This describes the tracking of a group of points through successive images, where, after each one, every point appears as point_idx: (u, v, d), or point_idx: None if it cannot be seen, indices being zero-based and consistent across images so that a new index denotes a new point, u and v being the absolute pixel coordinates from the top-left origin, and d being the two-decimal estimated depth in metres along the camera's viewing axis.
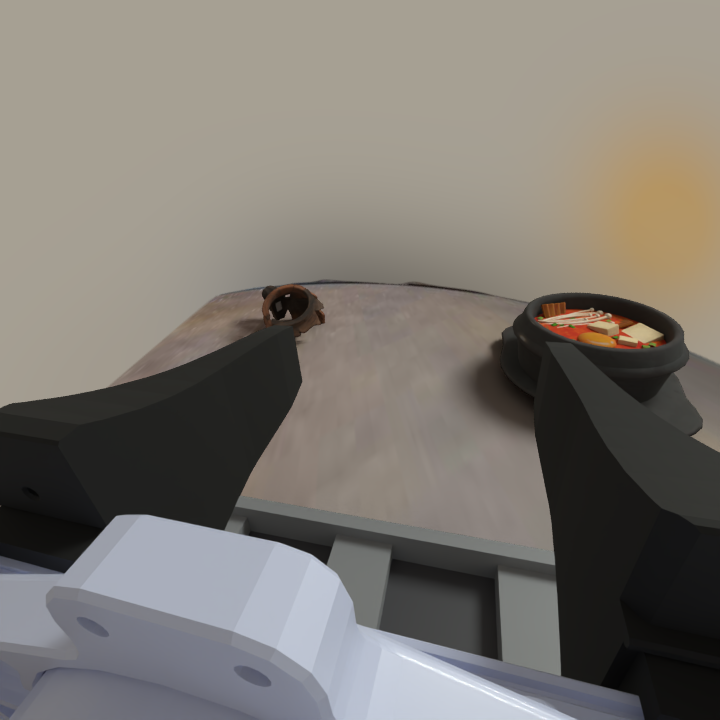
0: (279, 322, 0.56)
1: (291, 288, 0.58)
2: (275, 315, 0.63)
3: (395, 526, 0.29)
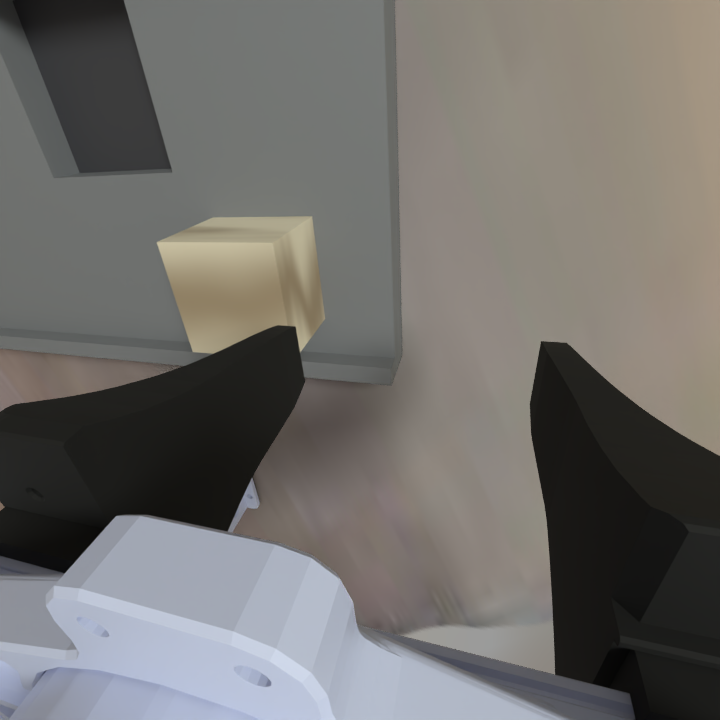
0: None
1: None
2: None
3: None
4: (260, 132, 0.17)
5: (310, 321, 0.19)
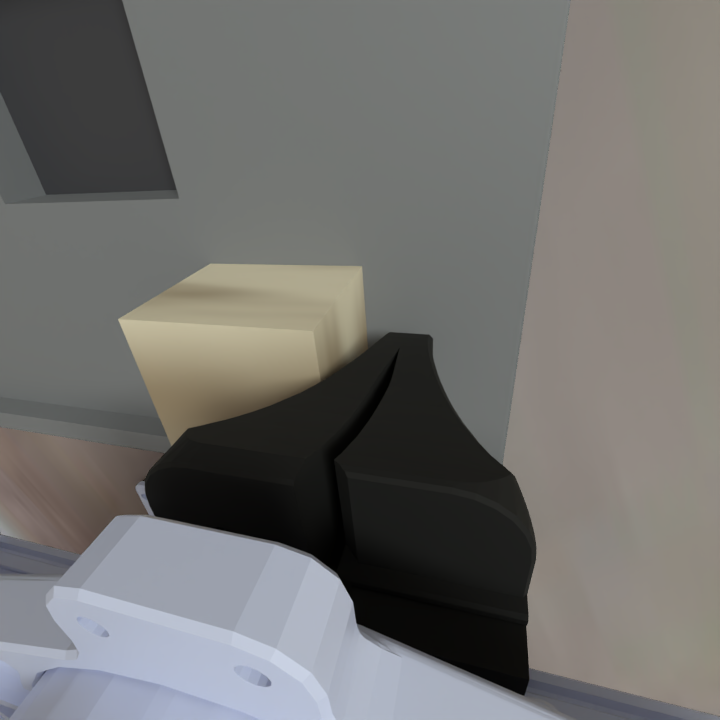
0: None
1: None
2: None
3: None
4: (323, 137, 0.10)
5: None
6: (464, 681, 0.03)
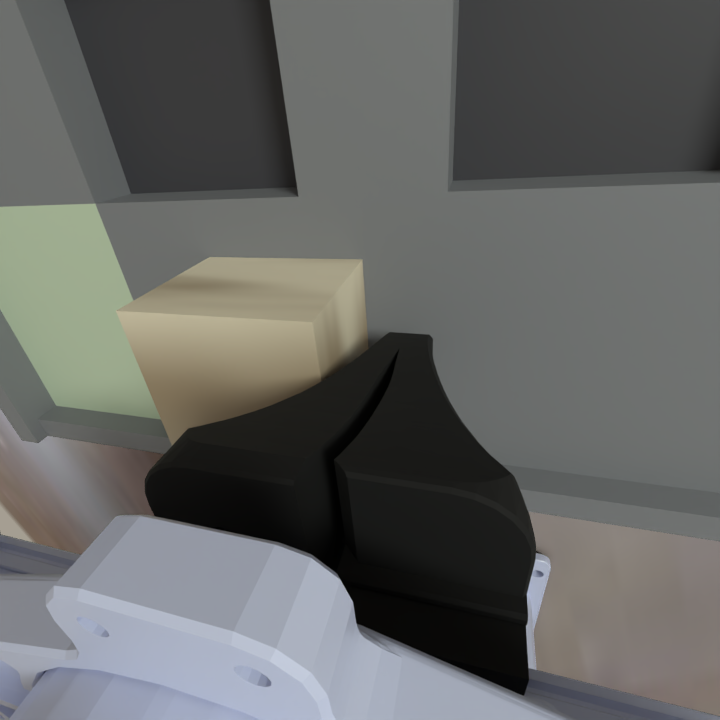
0: None
1: None
2: None
3: None
4: None
5: None
6: (464, 681, 0.03)
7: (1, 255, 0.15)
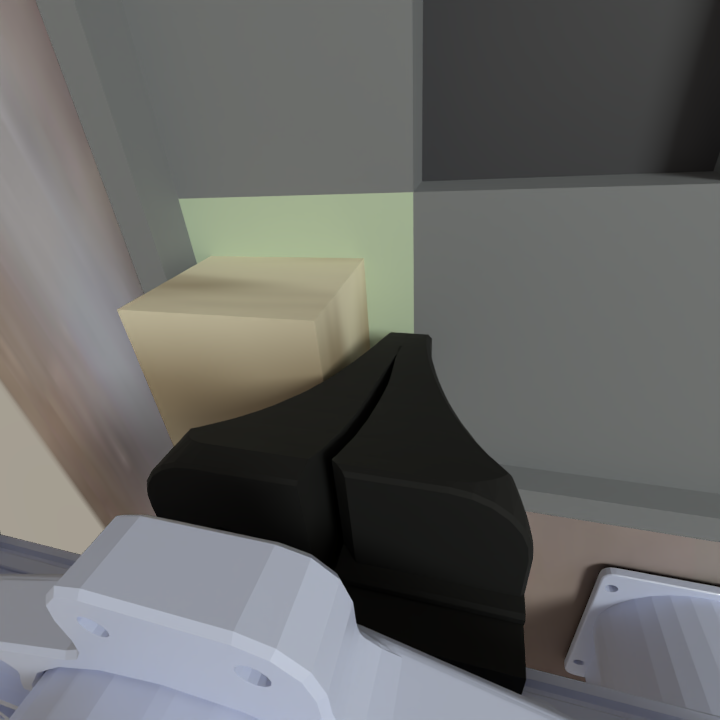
0: None
1: None
2: None
3: None
4: None
5: None
6: (464, 681, 0.03)
7: None
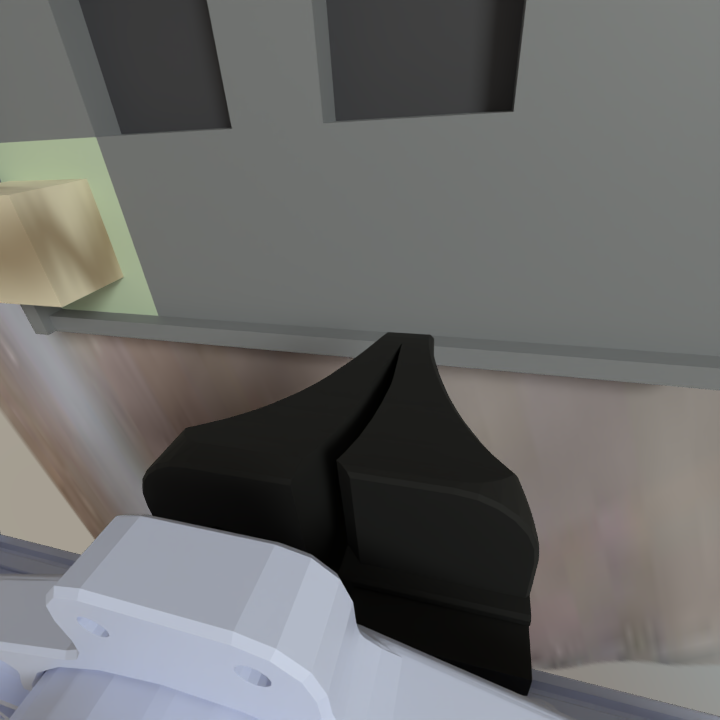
0: None
1: None
2: None
3: None
4: (685, 49, 0.12)
5: (92, 275, 0.21)
6: (464, 681, 0.03)
7: None
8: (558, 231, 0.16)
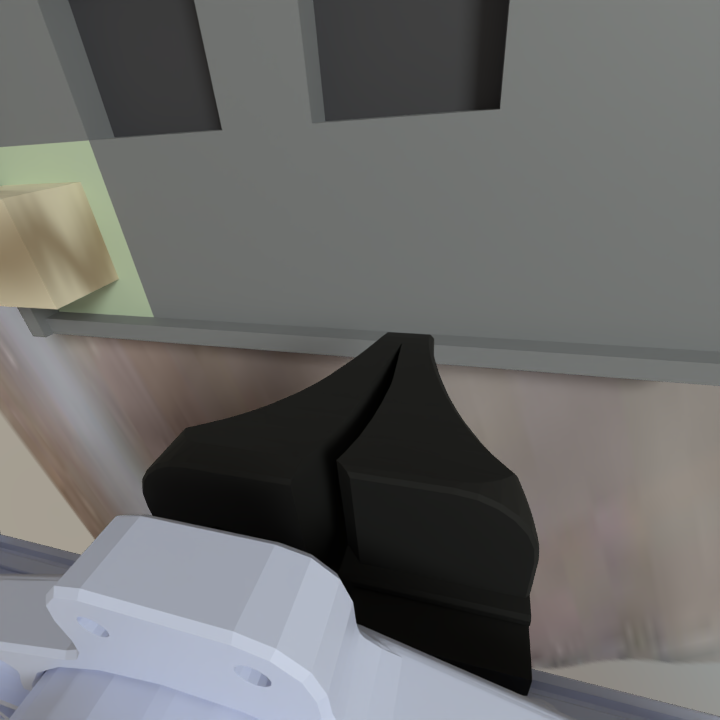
0: None
1: None
2: None
3: None
4: (669, 45, 0.12)
5: (87, 277, 0.21)
6: (464, 681, 0.03)
7: None
8: (547, 228, 0.16)
